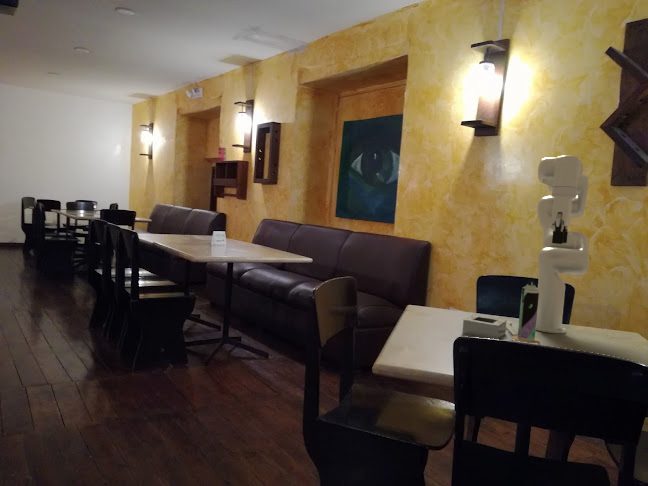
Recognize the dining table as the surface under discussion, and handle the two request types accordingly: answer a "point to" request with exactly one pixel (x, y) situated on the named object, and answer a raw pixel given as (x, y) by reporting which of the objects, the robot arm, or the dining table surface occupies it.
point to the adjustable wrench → (510, 329)
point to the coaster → (524, 340)
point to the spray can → (528, 312)
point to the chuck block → (484, 326)
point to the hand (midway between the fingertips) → (559, 243)
